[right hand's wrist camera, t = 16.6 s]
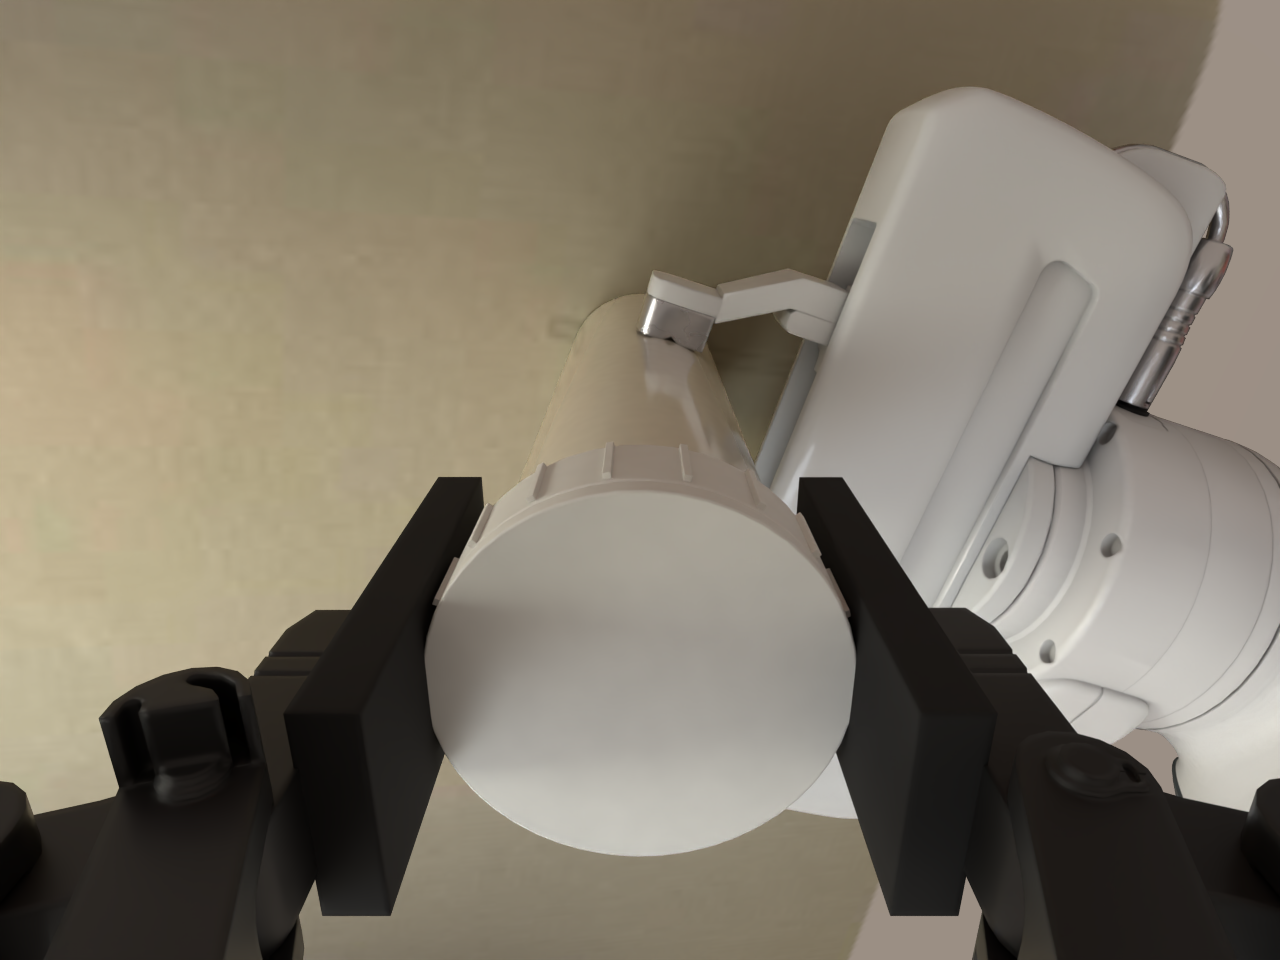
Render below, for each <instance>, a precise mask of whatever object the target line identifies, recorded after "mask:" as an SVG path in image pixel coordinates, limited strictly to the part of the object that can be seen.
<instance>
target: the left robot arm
mask: <svg viewBox="0 0 1280 960" xmlns="http://www.w3.org/2000/svg"><path fill="white" fill-rule="evenodd" d="M1208 225H1209V227H1208ZM1228 225H1229V201H1228V197H1227V194H1226V186H1225V183H1224V181H1223V180H1222V179H1221V178H1220V177H1219V176H1218V175H1217V174H1216V173H1215V172H1214V171H1212V170H1210V169H1209V168H1207V167H1206V166H1205V165H1203V164H1202V163H1199V162H1196V161H1194V160H1191V159H1188V158H1186V157H1183V156H1180V155H1178V154H1175V153H1172V152H1170V151H1167V150H1164V149H1162V148H1159V147H1156V146H1154V145H1148V144H1127V145H1122V146H1118V147H1115V148H1112V149H1110V148H1108V147H1107V146H1105V145H1103V144H1102V143H1100V142H1098V141H1097V140H1095V139H1093V138H1091V137H1090V136H1088V135H1086V134H1085V133H1083V132H1081V131H1079V130H1078V129H1076V128H1074V127H1072V126H1070V125H1068V124H1066V123H1064V122H1063V121H1061V120H1059V119H1057V118H1055V117H1053V116H1051V115H1049V114H1047V113H1045V112H1043V111H1041V110H1039V109H1037V108H1034V107H1032V106H1030V105H1028V104H1026V103H1023V102H1021V101H1019V100H1017V99H1014V98H1012V97H1010V96H1007V95H1005V94H1002V93H1000V92H997V91H994V90H991V89H988V88H984V87H972V86H970V87H957V88H951V89H948V90H944V91H941V92H938V93H936V94H933V95H931V96H929V97H926V98H924V99H922V100H920V101H918V102H916V103H914V104H912V105H910V106H908V107H906V108H904V109H902V110H900V111H899V112H898V113H897V114H895V115H894V116H893V118H892V119H891V120H890V122H889V124H888V126H887V128H886V130H885V133H884V135H883V138H882V140H881V143H880V145H879V148H878V150H877V153H876V155H875V158H874V161H873V163H872V166H871V168H870V171H869V173H868V176H867V178H866V181H865V183H864V186H863V188H862V191H861V193H860V196H859V199H858V201H857V204H856V206H855V209H854V211H853V214H852V216H851V219H850V221H849V224H848V226H847V229H846V232H845V234H844V237H843V239H842V242H841V244H840V247H839V249H838V252H837V254H836V257H835V259H834V262H833V264H832V267H831V270H830V272H829V275H828V277H827V280H823V279H819V278H816V277H813V276H810V275H807V274H804V273H801V272H798V271H795V270H792V269H789V268H787V269H783V270H779V271H774V272H770V273H765V274H761V275H757V276H752V277H748V278H744V279H739V280H735V281H731V282H726V283H722V284H718V285H717V288H716V289H715V288H712V287H709V286H706V285H703V284H700V283H697V282H694V281H691V280H688V279H685V278H682V277H678V276H675V275H672V274H669V273H666V272H661V271H656V270H653V271H652V275H651V278H650V281H649V285H648V288H647V290H646V294H645V297H644V301H643V304H642V307H641V311H640V314H639V318H638V321H637V330H638V331H639V332H641V333H643V334H645V335H648V336H650V337H654V338H659V339H666V338H669V337H672V338H673V340H674V341H675V342H676V344H678V345H680V346H682V347H684V348H687V349H691V350H694V351H697V352H700V353H702V352H703V349H704V347H705V344H706V341H707V339H708V336H709V333H710V331H711V328H712V325H713V323H715V324H717V323H722V322H727V321H732V320H737V319H742V318H747V317H752V316H757V315H762V314H767V313H772V312H773V315H774V318H775V320H776V321H777V322H778V323H779V324H780V325H781V326H782V327H783V328H784V329H785V330H786V331H787V332H788V333H790V334H793V335H795V336H798V337H801V338H803V341H802V343H801V346H800V348H799V351H798V353H797V356H796V358H795V361H794V363H793V366H792V368H791V371H790V373H789V376H788V379H787V381H786V384H785V386H784V389H783V391H782V394H781V396H780V399H779V401H778V404H777V406H776V409H775V412H774V414H773V417H772V419H771V422H770V424H769V427H768V429H767V432H766V434H765V437H764V439H763V442H762V444H761V447H760V450H759V452H758V455H757V457H756V460H755V462H754V465H755V467H756V470H757V472H758V475H759V478H760V480H761V483H762V484H763V485H765V486H766V487H768V488H769V489H770V490H771V491H772V492H773V493H774V494H775V495H776V496H778V497H779V498H780V499H781V500H782V501H783V502H784V503H785V504H786V505H787V506H788V507H789V508H790V510H791V511H792V512H793V513H794V514H795V515H796V513H797V500H798V487H799V477H843V479H844V480H845V482H846V483H847V485H848V486H849V488H850V489H851V491H852V493H853V494H854V496H855V497H856V499H857V500H858V502H859V503H860V505H861V506H862V508H863V509H864V511H865V512H866V514H867V515H868V517H869V518H870V520H871V521H872V523H873V524H874V526H875V527H876V529H877V531H878V532H879V534H880V535H881V537H882V538H883V540H884V541H885V543H886V544H887V546H888V547H889V549H890V550H891V552H892V553H893V555H894V556H895V558H896V559H897V561H898V562H899V564H900V565H901V567H902V569H903V570H904V572H905V573H906V575H907V576H908V578H909V579H910V581H911V582H912V584H913V585H914V587H915V588H916V590H917V591H918V593H919V594H920V596H921V597H922V599H923V600H924V602H925V604H926V605H927V607H928V608H967V609H968V610H970V611H971V612H973V613H974V614H976V615H978V616H979V617H981V618H982V619H984V620H985V621H987V622H988V623H990V624H991V625H993V626H994V627H995V628H996V629H997V630H998V631H999V633H1000V634H1001V635H1002V637H1003V638H1004V639H1005V640H1006V642H1007V643H1008V644H1009V646H1010V647H1011V648H1012V649H1013V650H1012V652H1013V654H1016V655H1017V656H1018V657H1019V659H1020V660H1021V661H1022V662H1023V664H1024V665H1025V666H1026V668H1027V673H1031V674H1032V675H1033V677H1034V678H1035V679H1036V680H1037V682H1038V683H1039V684H1040V686H1041V687H1042V688H1043V689H1044V691H1045V692H1046V693H1047V695H1048V696H1049V697H1050V698H1051V700H1052V701H1053V702H1054V704H1055V705H1056V706H1057V707H1058V709H1059V710H1060V711H1061V713H1062V714H1063V715H1064V716H1065V718H1066V719H1067V720H1068V722H1069V723H1070V724H1071V725H1072V727H1073V728H1074V729H1075V731H1076V732H1077V733H1078V734H1081V735H1085V736H1089V737H1092V738H1096V739H1100V740H1102V741H1104V742H1106V743H1108V744H1110V745H1111V744H1113V743H1114V742H1116V741H1118V740H1120V739H1121V738H1123V737H1124V736H1126V735H1127V734H1129V733H1130V732H1131V731H1133V730H1134V729H1141V730H1149V731H1153V732H1157V733H1159V734H1161V735H1162V736H1163V737H1165V738H1166V739H1167V740H1168V741H1169V743H1170V744H1171V745H1172V746H1173V747H1174V749H1175V750H1176V752H1177V754H1178V757H1177V758H1176V759H1175V760H1174V761H1173V764H1172V775H1173V783H1174V788H1175V794H1176V796H1179V797H1182V798H1187V799H1191V800H1196V801H1200V802H1205V803H1210V804H1214V805H1219V806H1223V807H1228V808H1233V809H1237V810H1242V811H1246V812H1249V810H1250V807H1251V804H1252V801H1253V798H1254V796H1255V793H1256V790H1257V789H1258V788H1259V787H1260V786H1262V785H1263V784H1264V783H1265V782H1267V781H1268V780H1269V779H1277V778H1280V468H1279V467H1278V466H1277V465H1275V464H1274V463H1272V462H1271V461H1269V460H1268V459H1266V458H1265V457H1263V456H1262V455H1260V454H1258V453H1257V452H1255V451H1253V450H1251V449H1249V448H1247V447H1244V446H1242V445H1240V444H1237V443H1235V442H1232V441H1229V440H1226V439H1223V438H1220V437H1217V436H1214V435H1211V434H1208V433H1205V432H1202V431H1198V430H1195V429H1192V428H1189V427H1186V426H1183V425H1180V424H1177V423H1174V422H1171V421H1168V420H1165V419H1162V418H1159V417H1156V416H1154V415H1151V414H1150V413H1148V412H1147V410H1148V409H1149V407H1150V405H1151V403H1152V402H1153V400H1154V398H1155V396H1156V395H1157V393H1158V391H1159V389H1160V388H1161V386H1162V384H1163V382H1164V381H1165V379H1166V377H1167V375H1168V374H1169V372H1170V370H1171V368H1172V367H1173V365H1174V363H1175V361H1176V359H1177V357H1178V355H1179V353H1180V351H1181V345H1183V344H1184V341H1185V337H1184V336H1185V335H1187V333H1188V331H1189V329H1190V327H1189V325H1192V323H1193V321H1194V319H1195V315H1196V314H1198V312H1199V311H1200V309H1201V307H1202V305H1203V304H1204V302H1205V300H1206V299H1210V297H1211V296H1212V295H1213V293H1214V292H1215V291H1216V289H1217V287H1218V286H1219V284H1220V282H1221V280H1222V278H1223V277H1224V275H1225V273H1226V270H1227V268H1228V265H1229V262H1230V260H1231V256H1232V253H1233V248H1232V247H1231V246H1229V245H1227V244H1224V243H1223V242H1224V239H1225V236H1226V232H1227V229H1228ZM1207 227H1208V231H1207V235H1206V238H1202V236H1203V234H1204V233H1205V231H1206V229H1207ZM786 809H788V810H793V811H798V812H804V813H810V814H815V815H821V816H827V817H835V818H844V819H858V817H857V814H856V811H855V808H854V805H853V803H852V800H851V797H850V794H849V791H848V788H847V785H846V782H845V779H844V776H843V773H842V770H841V767H840V764H839V761H838V758H837V755H836V753H835V755H834V756H833V758H832V760H831V761H830V763H829V765H828V766H827V767H826V768H825V770H824V771H823V772H822V774H821V775H820V776H819V778H818V779H817V780H816V781H815V783H814V784H813V785H812V786H811V787H810V788H809V789H808V790H807V791H806V792H805V793H804V794H803V795H802V796H801V797H800V798H799V799H798V800H797V801H795V802H794V803H793V804H791V805H790V806H789V807H788V808H786Z"/></svg>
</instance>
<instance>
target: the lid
mask: <svg viewBox="0 0 1280 960" xmlns="http://www.w3.org/2000/svg"><path fill="white" fill-rule="evenodd" d="M820 556H821V552H820V550H819V548H818V546H817V544H816V542H815V540H814V537H813V535H812V533H811V531H810V529H809V527H808V525H807V523H806V520H805V518H804V516H803V515H802V514H801V513H800V512H799V513H798V514H796V515H795V514H794V513H793V512H792V511H791V510H790V508H789V507H788V506H787V505H786V504H785V503H784V502H783V501H782V500H781V499H780V498H779V497H778V496H776V495H775V494H774V493H773V492H772V491H771V490H770V489H769V488H768V487H766V486H765V485H763V484H762V483H760V482H759V481H758V480H757V479H756V476H755V473H754V471H752V470H750V469H749V468H748V469H747V470H746V472H743V471H742V470H740V469H738V468H736V467H734V466H732V465H730V464H728V463H726V462H724V461H721V460H718V459H715V458H713V457H710V456H707V455H704V454H701V453H698V452H694V451H689V450H688V446H687V445H685V444H680V445H679V448H675V447H667V446H657V445H619V446H614V442H606V447H605V448H600V449H594V450H590V451H587V452H583V453H580V454H576V455H573V456H569V457H566V458H564V459H562V460H560V461H557V462H555V463H553V464H550V465H548V466H546V465H545V463H544V462H543V463H541V464H539V465H537V468H536V471H535V473H534V474H532V475H530V476H529V477H527V478H525V479H524V480H522V481H521V482H519V483H518V484H517V485H516V486H514V487H513V488H512V489H511V490H509V491H508V492H507V493H506V494H504V495H503V496H502V497H501V498H500V499H499V500H498V501H497V502H496V503H495V504H494V506H492V505H491V504H489V503H488V504H487V505H486V506H485V507H484V509H483V511H482V513H481V515H480V517H479V519H478V521H477V524H476V526H475V528H474V530H473V532H472V534H471V536H470V538H469V540H468V542H467V544H466V546H465V548H464V550H463V552H462V554H461V556H460V558H456V557H454V559H453V561H452V563H451V565H450V567H449V569H448V571H447V573H446V575H445V577H444V579H443V581H442V583H441V585H440V588H439V590H438V592H437V594H436V596H435V598H434V601H433V603H432V604H433V605H435V606H437V607H436V610H435V612H434V615H433V618H432V621H431V624H430V627H429V630H428V633H427V637H426V643H425V650H424V657H425V668H426V677H427V686H428V694H429V703H430V712H431V720H432V727H433V730H434V733H435V735H436V737H437V739H438V741H439V743H440V745H441V747H442V749H443V751H444V753H445V755H446V756H447V758H448V759H449V761H450V762H451V764H452V765H453V767H454V768H455V770H456V771H457V773H458V774H459V775H460V776H461V777H462V778H463V780H464V781H465V782H466V783H467V784H468V785H469V786H470V788H471V789H472V790H473V791H474V792H475V793H476V794H477V795H479V796H480V797H481V798H482V799H483V800H484V801H485V802H487V803H488V804H489V805H490V806H491V807H492V808H494V809H495V810H497V811H498V812H499V813H501V814H502V815H504V816H505V817H507V818H508V819H510V820H511V821H512V822H514V823H516V824H518V825H520V826H522V827H524V828H525V829H527V830H529V831H531V832H533V833H535V834H537V835H540V836H542V837H545V838H547V839H550V840H552V841H555V842H557V843H560V844H564V845H567V846H571V847H574V848H578V849H581V850H586V851H591V852H597V853H603V854H609V855H622V856H661V855H669V854H677V853H685V852H689V851H694V850H698V849H703V848H707V847H711V846H714V845H717V844H720V843H722V842H725V841H728V840H731V839H734V838H736V837H738V836H741V835H743V834H745V833H747V832H749V831H751V830H753V829H756V828H757V827H759V826H761V825H762V824H764V823H766V822H767V821H769V820H771V819H772V818H774V817H775V816H777V815H779V814H780V813H781V812H782V811H784V810H785V809H786V808H788V807H789V806H790V805H791V804H793V803H794V802H795V801H797V800H798V799H799V798H800V797H801V796H802V795H803V794H804V793H805V792H806V791H807V790H808V789H809V788H810V787H811V786H812V785H813V784H814V783H815V781H816V780H817V779H818V778H819V776H820V775H821V774H822V772H823V771H824V770H825V768H826V767H827V766H828V765H829V763H830V761H831V760H832V758H833V756H834V755H835V753H836V751H837V749H838V748H839V746H840V744H841V742H842V740H843V737H844V735H845V732H846V730H847V727H848V725H849V719H850V712H851V703H852V695H853V686H854V677H855V667H856V647H855V643H854V639H853V634H852V630H851V626H850V623H849V620H848V618H847V617H850V616H851V613H850V610H849V608H848V606H847V604H846V601H845V599H844V597H843V595H842V593H841V591H840V589H839V587H838V585H837V583H836V580H835V578H834V576H833V574H832V572H831V570H830V568H828V569H825V567H824V564H823V562H822V560H821V558H820Z"/></svg>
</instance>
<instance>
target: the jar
mask: <svg viewBox="0 0 1280 960" xmlns="http://www.w3.org/2000/svg"><path fill="white" fill-rule="evenodd" d="M644 297H645V294H630V295H625V296H621V297H618V298H615V299H612V300H610V301H608V302H606V303H604V304H603V305H601V306H600V307H598V308H597V309H596V310H595V311H594V312H592V313H591V314H590V315H589V316H588V318H587V319H586V320H585V321H584V322H583V324H582V325H581V327H580V328H579V330H578V332H577V335H576V337H575V339H574V342H573V344H572V347H571V349H570V352H569V354H568V357H567V360H566V362H565V365H564V367H563V370H562V372H561V375H560V377H559V380H558V383H557V385H556V388H555V390H554V393H553V395H552V398H551V401H550V403H549V406H548V408H547V411H546V413H545V416H544V419H543V421H542V424H541V426H540V429H539V431H538V434H537V436H536V439H535V442H534V444H533V447H532V449H531V452H530V454H529V457H528V460H527V462H526V465H525V467H524V470H523V472H522V475H521V477H520V480H519V482H521V481H522V480H524V479H525V478H527V477H529V476H530V475H532V474H534V473H535V471H536V468H537V465H539V464H541V463H543V462H544V463H545V465H546V466H548V465H550V464H553V463H555V462H557V461H560V460H562V459H564V458H566V457H569V456H573V455H576V454H580V453H583V452H587V451H590V450H594V449H600V448H605V447H606V442H614V446H619V445H657V446H667V447H675V448H679V445H680V444H685V445H687V446H688V450H689V451H694V452H698V453H701V454H704V455H707V456H710V457H713V458H715V459H718V460H721V461H724V462H726V463H728V464H730V465H732V466H734V467H736V468H738V469H740V470H742V471H743V472H746V470H747V469H748V468H749V469H750V470H752V471H754V473H755V476H756V479H757V480H758V481H759V482H760V483H761V480H760V478H759V475H758V472H757V470H756V467H755V465H754V462H753V460H752V457H751V455H750V452H749V449H748V447H747V444H746V442H745V439H744V437H743V434H742V431H741V429H740V426H739V424H738V421H737V419H736V416H735V413H734V411H733V408H732V406H731V403H730V401H729V398H728V396H727V393H726V390H725V388H724V385H723V383H722V380H721V378H720V375H719V372H718V370H717V367H716V365H715V362H714V360H713V357H712V355H711V352H710V349H709V347H708V344H707V342H706V344H705V347H704V349H703V352H702V353H700V352H697V351H694V350H691V349H687V348H684V347H682V346H680V345H678V344H676V342H675V341H674V340H673V338H672V337H669V338H666V339H659V338H654V337H650V336H648V335H645V334H643V333H641V332H639V331H638V330H637V321H638V318H639V314H640V311H641V307H642V304H643V301H644Z"/></svg>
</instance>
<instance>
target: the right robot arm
mask: <svg viewBox="0 0 1280 960" xmlns="http://www.w3.org/2000/svg"><path fill="white" fill-rule="evenodd" d="M483 509H484V502H483V489H482V477H438V479H437V480H436V482H435V483H434V485H433V486H432V488H431V489H430V491H429V492H428V494H427V495H426V497H425V498H424V500H423V501H422V503H421V505H420V506H419V508H418V509H417V511H416V512H415V514H414V515H413V517H412V518H411V520H410V521H409V523H408V524H407V526H406V527H405V529H404V530H403V532H402V533H401V535H400V536H399V538H398V540H397V541H396V543H395V544H394V546H393V547H392V549H391V550H390V552H389V553H388V555H387V556H386V558H385V559H384V561H383V562H382V564H381V565H380V567H379V568H378V570H377V571H376V573H375V574H374V576H373V578H372V579H371V581H370V582H369V584H368V585H367V587H366V588H365V590H364V591H363V593H362V594H361V596H360V597H359V599H358V600H357V602H356V603H355V605H354V606H353V608H352V609H351V610H315V611H314V612H312V613H311V614H309V615H308V616H306V617H305V618H303V619H302V620H300V621H299V622H297V623H296V624H294V625H293V626H291V627H289V628H288V629H286V631H285V632H284V633H283V635H282V636H281V637H280V639H279V640H278V641H277V642H276V644H275V645H274V646H273V648H272V649H271V650H270V651H269V657H265V658H264V659H263V661H262V662H261V663H260V664H259V666H258V667H257V668H256V670H255V671H254V676H250V677H249V679H247V678H245V677H244V676H243V675H242V674H241V673H239V672H238V671H234V670H230V669H225V668H221V667H204V668H190V669H186V670H182V671H177V672H173V673H169V674H165V675H162V676H159V677H157V678H155V679H152V680H150V681H148V682H145V683H143V684H140V685H138V686H136V687H134V688H133V689H131V690H130V691H128V692H127V693H125V694H124V695H122V696H121V697H119V698H118V699H116V700H115V701H113V702H112V703H111V705H110V706H109V707H108V708H107V709H106V710H105V712H104V713H103V714H102V715H101V716H100V718H99V721H100V725H101V728H102V731H103V735H104V738H105V741H106V745H107V748H108V752H109V755H110V758H111V762H112V765H113V768H114V772H115V775H116V778H117V782H118V785H119V790H118V792H117V794H116V796H115V797H111V798H108V799H104V800H101V801H96V802H92V803H87V804H82V805H78V806H73V807H69V808H64V809H59V810H55V811H50V812H46V813H41V814H36V815H33V812H32V809H31V806H30V804H29V801H28V798H27V795H26V793H25V792H24V791H23V790H22V789H20V788H19V787H18V786H17V785H15V784H14V783H10V782H2V781H0V960H303V955H304V943H303V936H302V929H301V924H300V920H299V913H300V911H301V909H302V907H303V905H304V902H305V900H306V898H307V896H308V894H309V891H310V889H311V887H312V885H313V883H314V881H315V880H316V885H317V890H318V896H319V901H320V906H321V911H322V916H391V913H392V910H393V907H394V904H395V901H396V898H397V895H398V892H399V889H400V886H401V883H402V880H403V877H404V874H405V871H406V868H407V865H408V862H409V859H410V856H411V853H412V850H413V847H414V844H415V841H416V838H417V835H418V832H419V829H420V826H421V823H422V820H423V817H424V814H425V811H426V808H427V805H428V802H429V799H430V796H431V793H432V790H433V787H434V784H435V781H436V778H437V775H438V772H439V769H440V766H441V763H442V760H443V757H444V754H445V753H444V751H443V749H442V747H441V745H440V743H439V741H438V739H437V737H436V735H435V733H434V730H433V727H432V720H431V712H430V703H429V694H428V686H427V677H426V668H425V657H424V650H425V643H426V637H427V633H428V630H429V627H430V624H431V621H432V618H433V615H434V612H435V610H436V607H437V606H435V605H433V604H432V603H433V601H434V598H435V596H436V594H437V592H438V590H439V588H440V585H441V583H442V581H443V579H444V577H445V575H446V573H447V571H448V569H449V567H450V565H451V563H452V561H453V559H454V557H456V558H460V556H461V554H462V552H463V550H464V548H465V546H466V544H467V542H468V540H469V538H470V536H471V534H472V532H473V530H474V528H475V526H476V524H477V521H478V519H479V517H480V515H481V513H482V511H483ZM799 512H800V513H801V514H802V515H803V516H804V518H805V520H806V523H807V525H808V527H809V529H810V531H811V533H812V535H813V537H814V540H815V542H816V544H817V546H818V548H819V550H820V552H821V556H820V558H821V560H822V562H823V564H824V567H825V569H828V568H830V570H831V572H832V574H833V576H834V578H835V580H836V583H837V585H838V587H839V589H840V591H841V593H842V595H843V597H844V599H845V601H846V604H847V606H848V608H849V610H850V613H851V616H850V617H847V618H848V620H849V623H850V626H851V630H852V634H853V639H854V643H855V647H856V667H855V677H854V686H853V695H852V703H851V712H850V719H849V725H848V727H847V730H846V732H845V735H844V737H843V740H842V742H841V744H840V746H839V748H838V749H837V751H836V755H837V758H838V761H839V764H840V767H841V770H842V773H843V776H844V779H845V782H846V785H847V788H848V791H849V794H850V797H851V800H852V803H853V805H854V808H855V811H856V814H857V817H858V820H859V823H860V826H861V829H862V832H863V835H864V838H865V841H866V844H867V847H868V850H869V853H870V856H871V859H872V862H873V865H874V868H875V871H876V874H877V877H878V880H879V883H880V886H881V889H882V892H883V895H884V898H885V901H886V904H887V907H888V910H889V913H890V916H958V915H959V910H960V905H961V900H962V895H963V890H964V885H965V879H966V877H967V879H968V881H969V883H970V885H971V888H972V890H973V892H974V894H975V896H976V898H977V901H978V903H979V905H980V907H981V909H982V915H981V920H980V925H979V929H978V934H977V939H976V944H975V948H974V953H973V958H972V960H1280V778H1277V779H1269V780H1268V781H1267V782H1265V783H1264V784H1263V785H1262V786H1260V787H1259V788H1258V789H1257V790H1256V793H1255V796H1254V798H1253V801H1252V804H1251V807H1250V810H1249V812H1246V811H1242V810H1237V809H1233V808H1228V807H1223V806H1219V805H1214V804H1210V803H1205V802H1200V801H1196V800H1191V799H1187V798H1182V797H1179V796H1175V795H1171V794H1168V793H1164V792H1163V790H1162V788H1161V786H1160V785H1159V784H1158V782H1157V781H1156V779H1155V778H1154V777H1153V775H1152V774H1151V773H1150V771H1149V770H1148V769H1147V768H1146V767H1145V766H1143V765H1142V764H1141V763H1139V762H1138V761H1137V760H1136V759H1134V758H1133V757H1132V756H1130V755H1129V754H1128V753H1126V752H1125V751H1123V750H1121V749H1118V748H1116V747H1114V746H1112V745H1110V744H1108V743H1106V742H1104V741H1102V740H1100V739H1096V738H1092V737H1089V736H1085V735H1081V734H1078V733H1077V732H1076V731H1075V729H1074V728H1073V727H1072V725H1071V724H1070V723H1069V722H1068V720H1067V719H1066V718H1065V716H1064V715H1063V714H1062V713H1061V711H1060V710H1059V709H1058V707H1057V706H1056V705H1055V704H1054V702H1053V701H1052V700H1051V698H1050V697H1049V696H1048V695H1047V693H1046V692H1045V691H1044V689H1043V688H1042V687H1041V686H1040V684H1039V683H1038V682H1037V680H1036V679H1035V678H1034V677H1033V675H1032V674H1031V673H1027V668H1026V666H1025V665H1024V664H1023V662H1022V661H1021V660H1020V659H1019V657H1018V656H1017V655H1016V654H1013V652H1012V650H1013V649H1012V648H1011V647H1010V646H1009V644H1008V643H1007V642H1006V640H1005V639H1004V638H1003V637H1002V635H1001V634H1000V633H999V631H998V630H997V629H996V628H995V627H994V626H993V625H991V624H990V623H988V622H987V621H985V620H984V619H982V618H981V617H979V616H978V615H976V614H974V613H973V612H971V611H970V610H968V609H967V608H928V607H927V605H926V604H925V602H924V600H923V599H922V597H921V596H920V594H919V593H918V591H917V590H916V588H915V587H914V585H913V584H912V582H911V581H910V579H909V578H908V576H907V575H906V573H905V572H904V570H903V569H902V567H901V565H900V564H899V562H898V561H897V559H896V558H895V556H894V555H893V553H892V552H891V550H890V549H889V547H888V546H887V544H886V543H885V541H884V540H883V538H882V537H881V535H880V534H879V532H878V531H877V529H876V527H875V526H874V524H873V523H872V521H871V520H870V518H869V517H868V515H867V514H866V512H865V511H864V509H863V508H862V506H861V505H860V503H859V502H858V500H857V499H856V497H855V496H854V494H853V493H852V491H851V489H850V488H849V486H848V485H847V483H846V482H845V480H844V479H843V477H799V487H798V500H797V513H796V514H798V513H799Z"/></svg>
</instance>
